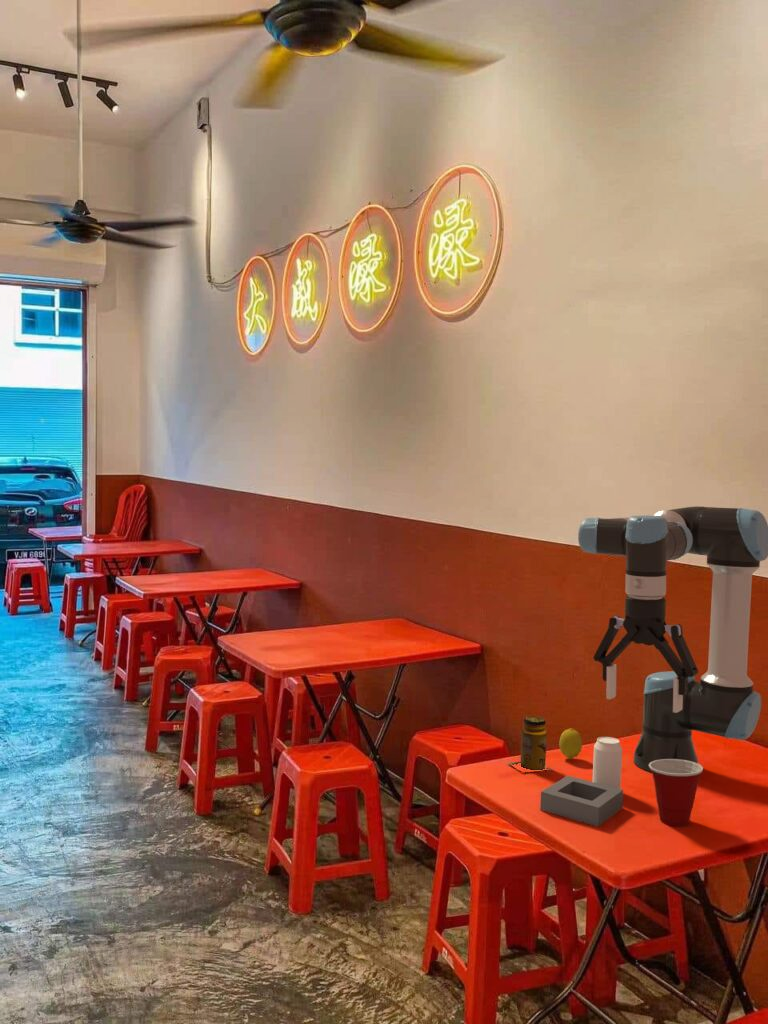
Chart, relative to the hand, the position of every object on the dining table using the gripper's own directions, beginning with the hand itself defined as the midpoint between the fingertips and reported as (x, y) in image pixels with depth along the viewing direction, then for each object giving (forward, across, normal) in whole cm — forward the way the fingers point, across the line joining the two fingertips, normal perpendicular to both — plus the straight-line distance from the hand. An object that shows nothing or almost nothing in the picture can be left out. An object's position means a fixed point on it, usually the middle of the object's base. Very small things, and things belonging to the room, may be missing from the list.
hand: (643, 704), depth 170 cm
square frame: (+28, -16, +6) cm, 33 cm away
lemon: (+29, -34, +33) cm, 56 cm away
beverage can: (+28, -17, +19) cm, 38 cm away
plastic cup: (+28, 0, +14) cm, 32 cm away
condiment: (+28, -38, +21) cm, 52 cm away
